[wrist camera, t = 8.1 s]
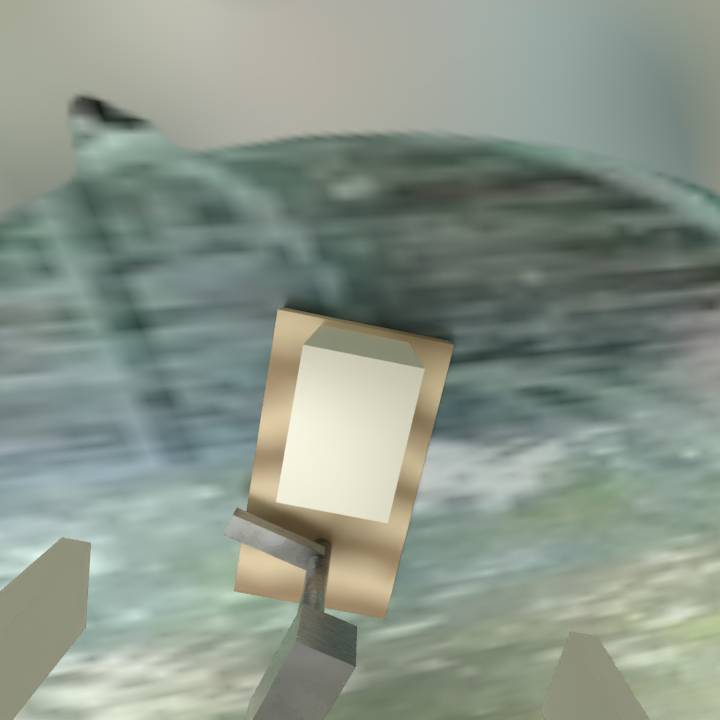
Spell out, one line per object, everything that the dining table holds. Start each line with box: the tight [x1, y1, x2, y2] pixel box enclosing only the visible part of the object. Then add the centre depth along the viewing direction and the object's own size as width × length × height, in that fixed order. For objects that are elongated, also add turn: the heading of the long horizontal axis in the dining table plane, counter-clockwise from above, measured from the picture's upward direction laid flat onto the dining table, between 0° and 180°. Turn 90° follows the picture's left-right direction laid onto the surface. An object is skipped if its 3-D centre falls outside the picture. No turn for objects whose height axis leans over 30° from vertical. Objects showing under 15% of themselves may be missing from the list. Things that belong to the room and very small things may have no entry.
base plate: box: [234, 307, 454, 619], centre depth 35 cm, size 26×14×2 cm, turn 169°
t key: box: [224, 508, 357, 720], centre depth 28 cm, size 10×8×13 cm
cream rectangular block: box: [276, 325, 425, 523], centre depth 29 cm, size 13×7×9 cm, turn 169°
